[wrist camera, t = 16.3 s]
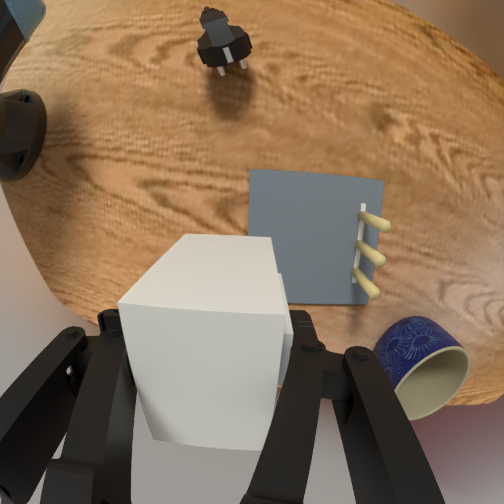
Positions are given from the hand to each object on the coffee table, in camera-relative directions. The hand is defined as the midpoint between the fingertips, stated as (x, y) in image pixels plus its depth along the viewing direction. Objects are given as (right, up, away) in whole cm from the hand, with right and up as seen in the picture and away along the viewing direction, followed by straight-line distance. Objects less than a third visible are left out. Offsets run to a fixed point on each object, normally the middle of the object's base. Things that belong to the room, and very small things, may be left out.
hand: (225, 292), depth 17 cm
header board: (+9, +4, +16) cm, 19 cm away
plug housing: (0, 0, 0) cm, 0 cm away
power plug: (-4, +33, +11) cm, 35 cm away
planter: (+25, -11, +20) cm, 34 cm away
